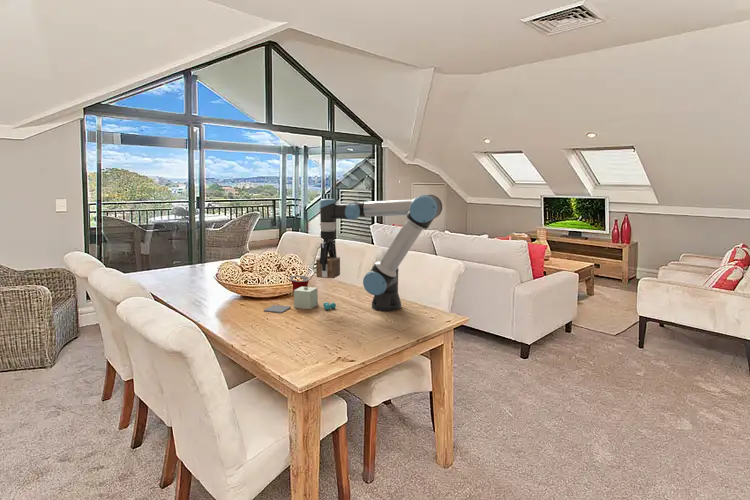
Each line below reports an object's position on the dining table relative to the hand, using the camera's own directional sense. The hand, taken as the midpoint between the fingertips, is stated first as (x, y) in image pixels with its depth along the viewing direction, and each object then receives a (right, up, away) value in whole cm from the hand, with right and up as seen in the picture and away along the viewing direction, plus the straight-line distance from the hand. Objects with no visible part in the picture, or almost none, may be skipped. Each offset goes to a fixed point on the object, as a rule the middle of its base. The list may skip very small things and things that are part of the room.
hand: (328, 275), depth 238 cm
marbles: (-6, -17, +4) cm, 18 cm away
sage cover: (-12, -16, +7) cm, 22 cm away
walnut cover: (0, -1, 0) cm, 0 cm away
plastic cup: (-17, -14, +21) cm, 31 cm away
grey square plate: (-26, -17, +1) cm, 31 cm away
